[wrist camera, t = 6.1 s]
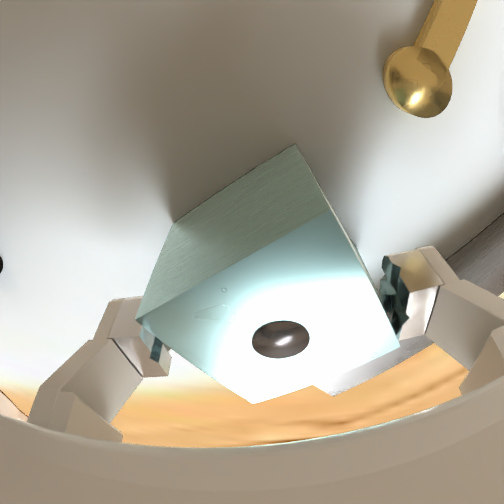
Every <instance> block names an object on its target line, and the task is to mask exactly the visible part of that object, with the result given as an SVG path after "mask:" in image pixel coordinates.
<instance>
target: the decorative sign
mask: <svg viewBox="0 0 504 504" xmlns="http://www.w3.org/2000/svg"><path fill="white" fill-rule="evenodd" d="M2 269H3V261H2V258H1V257H0V273H1V271H2Z"/></svg>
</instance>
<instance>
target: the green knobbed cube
mask: <svg viewBox="0 0 504 504" xmlns="http://www.w3.org/2000/svg"><path fill="white" fill-rule="evenodd" d="M135 320H136V321H137V322H138V323H139V324H140V325H142V326H143V327H144V328H145V329H147V330H148V331H149V332H150V333H152V334H153V335H154V336H156V337H157V338H158V339H159V340H161V341H162V342H163V343H165V344H166V345H167V346H169V347H170V348H171V349H173V350H174V351H175V352H177V353H178V354H179V355H181V356H182V357H183V358H185V359H186V360H188V361H189V362H190V363H192V364H193V365H195V366H196V367H197V368H199V369H200V370H202V371H203V372H205V373H206V374H208V375H209V376H211V377H212V378H214V379H215V380H217V381H218V382H220V383H221V384H223V385H224V386H226V387H227V388H229V389H230V390H232V391H233V392H235V393H237V394H238V395H240V396H241V397H243V398H245V399H246V400H248V401H250V402H251V403H253V404H254V403H258V402H261V401H265V400H268V399H271V398H274V397H277V396H281V395H284V394H287V393H290V392H293V391H296V390H298V389H301V388H304V387H307V386H310V385H312V384H315V383H318V382H321V381H323V380H326V379H328V378H331V377H333V376H336V375H338V374H341V373H343V372H346V371H348V370H351V369H353V368H355V367H358V366H360V365H362V364H365V363H367V362H369V361H371V360H373V359H376V358H378V357H380V356H382V355H384V354H386V353H388V352H390V351H393V350H395V349H397V348H399V347H400V345H399V342H398V340H397V337H396V335H395V332H394V330H393V327H392V325H391V322H390V320H389V318H388V315H387V313H386V311H385V309H384V306H383V304H382V301H381V299H380V297H379V295H378V292H377V290H376V288H375V286H374V284H373V281H372V279H371V277H370V275H369V273H368V271H367V269H366V267H365V264H364V262H363V260H362V258H361V256H360V254H359V252H358V250H357V248H356V246H355V245H353V244H352V242H351V241H350V239H349V237H348V235H347V233H346V231H345V230H344V228H343V226H342V224H341V222H340V221H339V219H338V217H337V215H336V214H335V212H334V210H333V208H332V207H331V205H330V203H329V201H328V200H327V198H326V196H325V195H324V193H323V191H322V190H321V188H320V186H319V184H318V182H317V180H316V178H315V177H314V175H313V173H312V171H311V169H310V168H309V166H308V164H307V162H306V160H305V159H304V157H303V155H302V154H301V152H300V151H299V149H298V148H297V146H296V144H294V145H292V146H290V147H289V148H287V149H285V150H284V151H282V152H281V153H279V154H277V155H276V156H274V157H272V158H271V159H269V160H268V161H266V162H264V163H263V164H261V165H260V166H258V167H256V168H255V169H253V170H252V171H250V172H248V173H247V174H245V175H244V176H242V177H241V178H239V179H238V180H236V181H235V182H233V183H231V184H230V185H228V186H227V187H225V188H224V189H222V190H221V191H219V192H218V193H216V194H215V195H213V196H212V197H210V198H209V199H208V200H206V201H205V202H203V203H202V204H200V205H199V206H197V207H196V208H194V209H193V210H191V211H190V212H189V213H187V214H186V215H184V216H183V217H181V218H180V219H179V220H177V221H176V222H174V223H173V225H172V227H171V229H170V232H169V234H168V236H167V239H166V241H165V243H164V246H163V248H162V250H161V253H160V255H159V258H158V260H157V263H156V265H155V268H154V270H153V273H152V275H151V278H150V280H149V283H148V285H147V288H146V291H145V293H144V296H143V298H142V301H141V304H140V306H139V309H138V312H137V315H136V318H135Z"/></svg>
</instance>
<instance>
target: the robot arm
mask: <svg viewBox="0 0 504 504" xmlns="http://www.w3.org/2000/svg"><path fill="white" fill-rule="evenodd" d="M382 269H383V271H384V273H385V275H384V276H383V278H382V279H381V280H380V295H381V300H382V304H383V306H384V309H385V311H386V312H387V313H389V314H391V315H392V320H391V325H392V327H393V329H394V331H395V334H396V336H397V338H398V340H399V341H400V340H404V339H408V338H412V337H416V336H420V335H424V334H425V336H426V337H428V338H429V339H430V340H431V341H433V342H434V343H435V344H436V345H438V346H439V347H440V348H442V349H443V350H444V351H445V352H447V353H448V354H449V355H450V356H452V357H453V358H454V359H455V360H457V361H458V362H459V363H460V364H461V365H463V366H464V367H465V368H466V369H468V370H469V372H468V373H467V375H466V377H465V378H464V380H463V381H462V383H461V385H460V387H459V389H460V391H461V394H462V395H461V396H459V397H457V398H454V399H452V400H450V401H447V402H445V403H442V404H439V405H437V406H434V407H432V408H429V409H426V410H423V411H420V412H417V413H415V414H412V415H409V416H405V417H402V418H399V419H396V420H392V421H389V422H386V423H382V424H378V425H375V426H371V427H367V428H363V429H359V430H354V431H350V432H346V433H341V434H336V435H331V436H326V437H320V438H314V439H308V440H301V441H294V442H287V443H278V444H269V445H257V446H243V447H218V448H190V447H165V446H151V445H140V444H131V443H122V437H123V435H122V433H121V431H119V430H118V429H117V428H115V427H114V426H113V425H111V424H110V423H111V421H112V420H113V419H114V417H115V416H116V415H117V413H118V412H119V411H120V409H121V408H122V406H123V405H124V404H125V402H126V401H127V400H128V398H129V397H130V396H131V394H132V393H133V392H134V390H135V389H136V388H137V386H138V385H139V384H140V382H141V381H142V380H143V378H142V377H160V376H168V374H169V368H170V363H171V358H172V357H171V356H170V354H169V353H168V351H169V350H170V349H171V348H170V347H169V346H167V345H166V344H165V343H163V342H162V341H161V340H159V339H158V338H157V337H156V336H154V335H153V334H152V333H150V332H149V331H148V330H147V329H145V328H144V327H143V326H142V325H140V324H139V323H138V322H137V321H136V320H135V318H136V315H137V312H138V309H139V306H140V304H141V301H142V298H143V296H137V297H128V298H122V299H113V300H112V301H110V302H109V304H108V306H107V308H106V310H105V312H104V315H103V317H102V319H101V322H100V324H99V326H98V329H97V331H96V333H95V336H94V338H93V340H88V341H87V342H86V343H85V344H84V345H83V346H82V347H81V348H80V349H79V350H78V351H76V352H75V353H74V354H73V355H72V356H71V357H70V358H69V359H68V360H67V361H66V362H65V363H64V364H63V365H62V366H61V367H60V368H58V369H57V370H56V371H55V372H54V373H53V374H52V375H51V376H50V377H49V378H48V379H47V380H46V381H45V382H44V383H43V384H42V385H41V386H40V387H39V390H38V392H37V395H36V397H35V400H34V403H33V405H32V408H31V411H30V414H29V417H27V416H25V415H24V414H23V413H22V412H20V411H19V410H18V409H17V408H16V406H15V405H14V404H13V403H12V402H11V401H10V400H9V399H8V398H7V397H6V396H5V395H4V394H3V393H1V392H0V504H504V299H502V298H500V297H498V296H496V295H494V294H493V293H491V292H489V291H487V290H485V289H483V288H481V287H479V286H477V285H475V284H473V283H471V282H469V281H467V280H465V279H463V280H459V278H458V277H457V275H456V274H455V273H454V272H453V270H452V269H451V268H450V266H449V265H448V264H447V262H446V261H445V260H444V259H443V257H442V256H441V255H440V254H439V252H438V251H437V250H436V249H435V248H434V247H433V246H431V245H429V246H425V247H421V248H417V249H415V250H410V251H405V252H400V253H395V254H390V255H385V256H384V257H383V260H382Z"/></svg>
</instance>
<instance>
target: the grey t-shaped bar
mask: <svg viewBox="0 0 504 504" xmlns="http://www.w3.org/2000/svg"><path fill="white" fill-rule="evenodd" d="M446 262H447V264H448V265H449V266H450V268H451V269H452V270H453V272H454V273H455V274H456V275H457V277H458V278H459V280H463V279H465V280H467V281H469V282H471V283H473V284H475V285H477V286H479V287H481V288H483V289H485V290H487V291H489V292H491V293H493V294H494V295H496V296H499V295H500V294H501V293H503V292H504V213H503V214H502V215H501V216H500V217H499V218H498V219H497V220H496V221H494V222H493V223H492V224H491V225H490V226H489V227H487V228H486V229H485V230H484V231H483V232H481V233H480V234H479V235H478V236H477V237H475V238H474V239H473V240H472V241H470V242H469V243H468V244H467V245H465V246H464V247H463V248H462V249H460V250H459V251H458V252H456V253H455V254H454V255H452V256H451V257H450V258H448V259H447V260H446ZM386 313H387V312H386ZM387 315H388V318H389V320H390V322H391V320H392V315H391V314H389V313H387ZM393 330H394V329H393ZM394 332H395V331H394ZM395 335H396V334H395ZM396 337H397V336H396ZM397 340H398V338H397ZM398 342H399V345H400V347H399V348H397V349H395V350H393V351H390V352H388V353H386V354H384V355H382V356H380V357H378V358H376V359H373V360H371V361H369V362H367V363H365V364H362V365H360V366H358V367H355V368H353V369H351V370H348V371H346V372H343V373H341V374H338V375H336V376H333V377H331V378H328V379H326V380H323V381H321V382H318V383H315V384H312V385H314V386H316V387H318V388H319V389H321V390H323V391H325V392H326V393H328V394H330V395H332V396H335V395H337V394H340V393H342V392H344V391H346V390H348V389H350V388H353V387H355V386H357V385H359V384H361V383H363V382H365V381H367V380H369V379H371V378H373V377H375V376H377V375H379V374H381V373H383V372H384V371H386V370H388V369H390V368H392V367H394V366H395V365H397V364H399V363H401V362H403V361H404V360H406V359H408V358H410V357H411V356H413V355H415V354H416V353H418V352H420V351H421V350H423V349H425V348H426V347H428V346H429V345H431V344H433V343H434V342H433V341H431V340H430V339H429V338H428V337H426V336H425V334H424V335H420V336H416V337H412V338H408V339H404V340H400V341H399V340H398Z"/></svg>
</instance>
